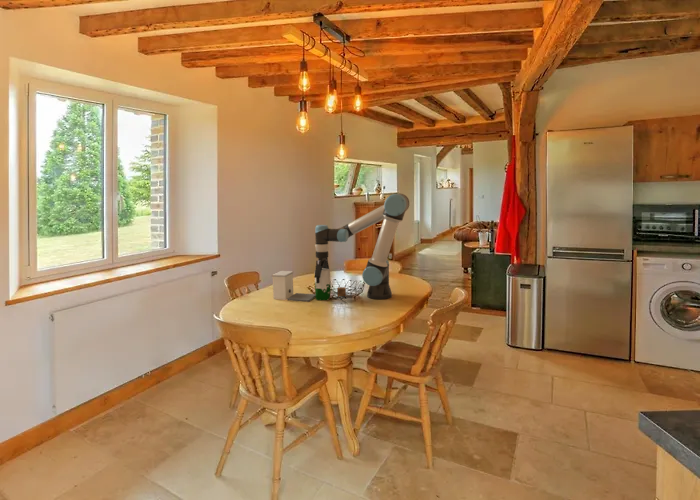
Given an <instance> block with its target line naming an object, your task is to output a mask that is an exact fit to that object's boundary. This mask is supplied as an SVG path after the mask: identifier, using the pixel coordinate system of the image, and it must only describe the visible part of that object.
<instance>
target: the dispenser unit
mask: <svg viewBox="0 0 700 500" xmlns="http://www.w3.org/2000/svg"><path fill="white" fill-rule="evenodd" d="M293 274H294V271H292V270H279V271H278V272H276V273H273V274H271V277H272V292H273V294H272V295H273V296H272V297H273V300H281V301H282V300H284V301H285V300H287V299H288V298H289V297H291V296H292V295H294V294H295V293H294V275H293Z"/></svg>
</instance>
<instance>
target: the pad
mask: <svg viewBox="0 0 700 500" xmlns="http://www.w3.org/2000/svg"><path fill="white" fill-rule="evenodd" d="M293 294H294V295H292V296H291V297H289V298H288V299H286V300H287V301H292V302H307V303H309V302H311V301H313V300H314V298H315V299H316V294H315V293H301V292H296V293H293Z"/></svg>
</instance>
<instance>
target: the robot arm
mask: <svg viewBox="0 0 700 500" xmlns="http://www.w3.org/2000/svg"><path fill="white" fill-rule="evenodd" d="M409 208H410V199H409V197H408V196H407V195H405V194H404V193H393V194H390V195H389V196H387V197H386V199H385V200H384V203H383V205H381V206H379V207H378V208H375V209H373V210H371V211H369V212H368V213H365V214H364V215H362V216H360V217H358V218H356V219H355V220H353V221H351V222H349V223H347V224H345V225H343V226H341V227H339V228H329V226H328V224H317V225H316V226H315V228H314V229H315V231H314V232H315V234H314V235H315V244H314V247H315V258H316V259H318V260H316V262H315V270H314V271H315V273H314V277H313V278H314V279H315V278H316V288H318V289H321V278H320V276H321V271H322V269H324V268H326V269H330V266H329V265H330V264H329V260H328V259H329V242H335V243H336V242H337V243H338V242H339V243H346V242H347V241H348V240H349V238H350V237H352V236H354V235H356V234H358V233H360V232H361V231H363V230H365V229H368V228H369V227H371V226H374V225H375V224H378V223H379V222H382V224H381V226H380V230H379V232H378V233H379V234H378V236H377V240H376V243H375V247H374V250H373V253H372V255H371V257H370V258H368V260H367V263H366V266H365V268H364V270H362V275H361V276H362V280H363V282H364V283H365V284H366V285H368V290H367V292H366V296H367V298H369V299H373V300H388V299H391V298H392V296H393V293H392V292H393V291H392V289H391V287H390V263H389V262H390V261H389V260H388V258H389V254H390V251H391V248H392V245H393V241H394V238H395V236H396V233H397V230H398V226H399V223H400V222H402V221H403V219H404V217H405V213H406V212H407V211H408V210H409Z"/></svg>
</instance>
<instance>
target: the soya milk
mask: <svg viewBox="0 0 700 500" xmlns="http://www.w3.org/2000/svg"><path fill="white" fill-rule="evenodd" d="M314 274H315V270H314ZM320 278H321V289H318V288H316V278H315V277H314V291H315V292H314V294H316V297H315V300H316V301H328V300H329V299H330V298H331V293H332V292H331V290H332V289H331V288H332V286H331V268H329V269H326V268H324V269H323V268H322V271H321V276H320Z"/></svg>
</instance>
